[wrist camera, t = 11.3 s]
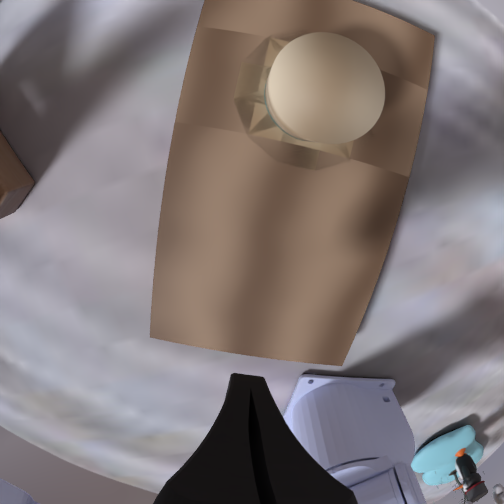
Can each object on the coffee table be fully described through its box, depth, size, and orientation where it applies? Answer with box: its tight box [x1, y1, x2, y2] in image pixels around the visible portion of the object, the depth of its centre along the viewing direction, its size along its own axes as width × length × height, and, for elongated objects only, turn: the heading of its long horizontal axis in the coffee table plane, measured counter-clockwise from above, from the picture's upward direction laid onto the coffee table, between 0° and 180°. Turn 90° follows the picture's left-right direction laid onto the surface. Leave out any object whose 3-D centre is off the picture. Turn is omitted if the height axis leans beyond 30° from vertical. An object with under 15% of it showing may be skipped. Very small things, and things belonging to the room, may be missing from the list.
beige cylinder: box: [264, 32, 385, 144], centre depth 15 cm, size 5×5×6 cm
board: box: [150, 0, 435, 366], centre depth 19 cm, size 14×24×2 cm, turn 168°
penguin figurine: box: [411, 425, 504, 504], centre depth 26 cm, size 20×11×15 cm, turn 38°
